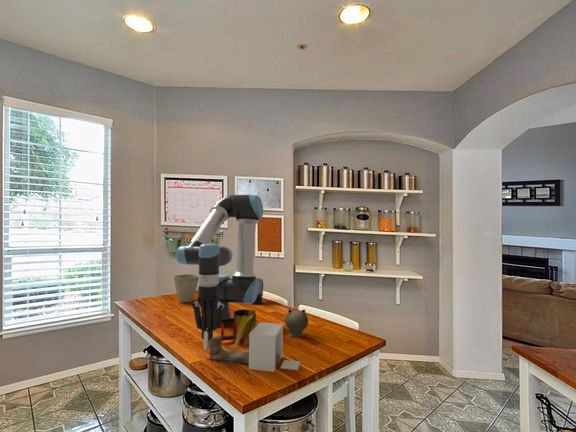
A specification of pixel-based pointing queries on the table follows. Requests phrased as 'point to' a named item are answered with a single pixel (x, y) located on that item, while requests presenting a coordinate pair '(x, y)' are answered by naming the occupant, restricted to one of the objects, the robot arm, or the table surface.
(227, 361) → the pit pad
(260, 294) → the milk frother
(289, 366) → the pad
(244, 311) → the mug
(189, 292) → the plant pot
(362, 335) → the table surface
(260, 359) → the upright grey pillar
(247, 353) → the sled
